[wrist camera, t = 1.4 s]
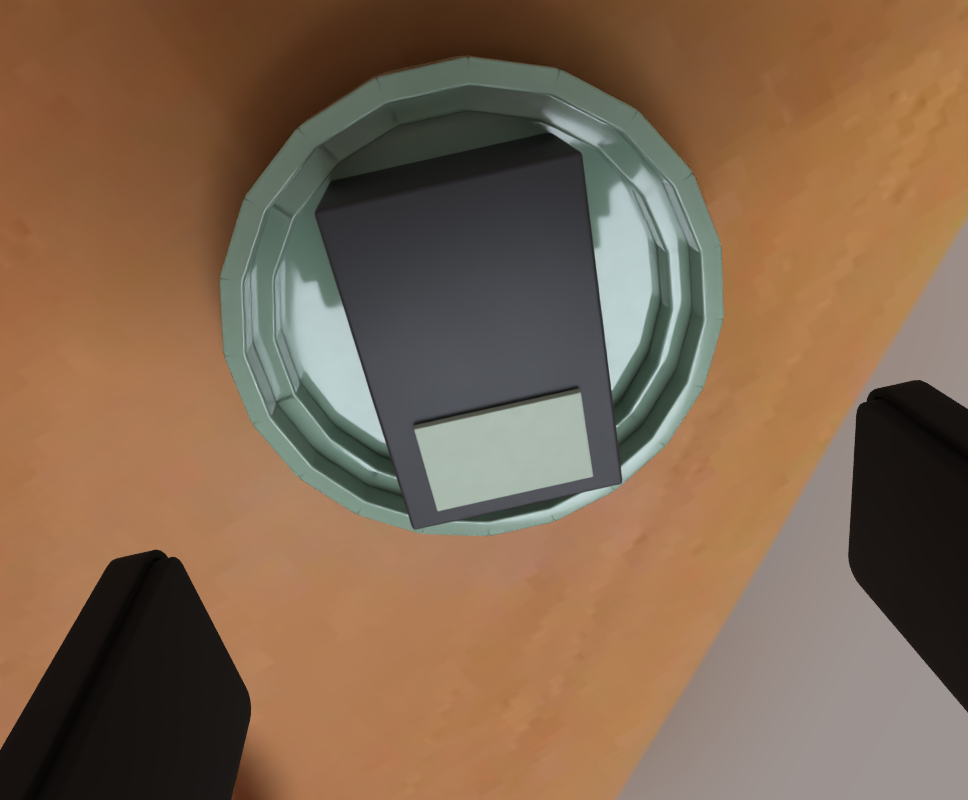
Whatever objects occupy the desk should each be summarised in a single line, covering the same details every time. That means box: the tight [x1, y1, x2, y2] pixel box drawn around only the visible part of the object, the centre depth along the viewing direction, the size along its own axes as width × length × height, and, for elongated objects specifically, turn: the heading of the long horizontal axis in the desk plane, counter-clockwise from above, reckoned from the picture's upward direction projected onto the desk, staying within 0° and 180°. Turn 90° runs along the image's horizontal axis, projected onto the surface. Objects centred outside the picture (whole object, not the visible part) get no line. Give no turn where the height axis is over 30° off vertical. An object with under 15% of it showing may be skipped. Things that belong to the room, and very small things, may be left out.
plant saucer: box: [219, 55, 724, 536], centre depth 17 cm, size 11×11×2 cm
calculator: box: [315, 132, 622, 530], centre depth 16 cm, size 8×5×3 cm, turn 11°
